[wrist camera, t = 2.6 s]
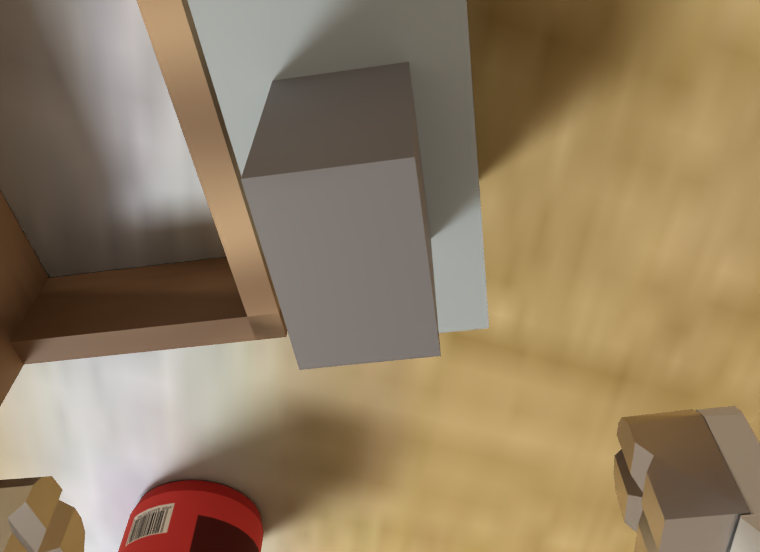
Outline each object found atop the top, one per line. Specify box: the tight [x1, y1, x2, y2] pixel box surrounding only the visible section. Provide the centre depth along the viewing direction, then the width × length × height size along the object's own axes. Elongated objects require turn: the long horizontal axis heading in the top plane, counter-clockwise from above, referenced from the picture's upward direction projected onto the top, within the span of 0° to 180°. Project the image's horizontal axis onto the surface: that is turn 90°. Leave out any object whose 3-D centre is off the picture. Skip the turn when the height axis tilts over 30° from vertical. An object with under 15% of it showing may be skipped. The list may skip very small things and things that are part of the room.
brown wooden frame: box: [0, 0, 287, 406], centre depth 22 cm, size 18×13×8 cm
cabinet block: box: [187, 0, 489, 370], centre depth 19 cm, size 6×12×12 cm, turn 8°
